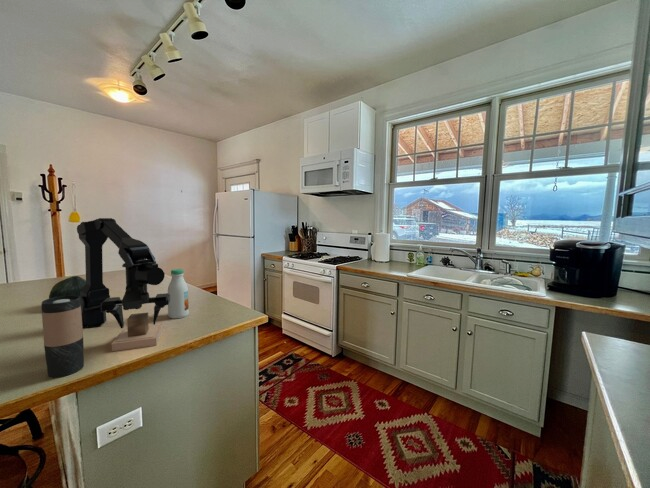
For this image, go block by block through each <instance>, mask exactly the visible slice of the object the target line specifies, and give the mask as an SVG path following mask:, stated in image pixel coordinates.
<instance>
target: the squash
mask: <svg viewBox="0 0 650 488" xmlns="http://www.w3.org/2000/svg"><path fill="white" fill-rule="evenodd" d="M85 284H86V278H83V277H81V276H79V275H74V276H70V277H67V278H65V279H63V280H60V281H59V282H57V283H55V284H54V285H53V286H52V288H51V290H50V292H49V295H48V299H50V298H54V297H60V296H79V297H80V291H81V290H82V288H83V287H84V286H85Z"/></svg>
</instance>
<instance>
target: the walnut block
mask: <svg viewBox="0 0 650 488" xmlns="http://www.w3.org/2000/svg"><path fill="white" fill-rule="evenodd" d="M126 325H127V328H128V337H132V336H140V335H146V334H147V332H148V330H149V326H150V324H149V312H141V313H131V314H130V315H129V316H128V317H127V319H126Z"/></svg>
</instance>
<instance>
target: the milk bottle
mask: <svg viewBox="0 0 650 488" xmlns="http://www.w3.org/2000/svg"><path fill="white" fill-rule="evenodd" d="M170 275H171V279H170V282H169V284H168V286H167V293H168V294H170V302H169V304H168V305H167V316H168V317H169V318H170V319H181V318H185V317H187V316H189V313H190V312H189V311H190V308H189V288H188V284H187V282H186V280H185V279H184V269H182V268H174V269H171V270H170Z"/></svg>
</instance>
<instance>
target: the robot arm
mask: <svg viewBox="0 0 650 488" xmlns="http://www.w3.org/2000/svg"><path fill="white" fill-rule="evenodd" d="M76 233H77V234H78V238H79V240H80V242H82V244H83V245H84V252H85V253H84V254H85V255H84V256H85V261H84V262H85V280H86V284H85V286H84V287H83V288H82V290H81V291H80V302H81V315H82V327H83V329H85V328H86V329H88V328H96V327H101V326H103V325H104V323H106V322H107V314H111V315H113V316H112V317H114V318H115V320H116V321H117V324H118V325H119V327H120V329H124V324H125V323H124V322H125V321H124V313H123V312H124V311H129V310H139V309H141V308H142V307H143V305H145V304H154V307H153V320H152V322H153V325H156V323H157V319H158V318H159V314H160V312H161V309H163V308H165V307H166V306H168V304H169V302H170V294H168V292H167V293H157V294H156V296H153V297H150V294H149V292H148V285H150V286H151V285H152V286H158V285H160V284H161V283H162V282H163V281H164V279H165V272H164V270H163V269H162V268H160V267H159V264H158V263H157V261H156V257H155V255H154V254H153V253H152V251H151V249H150V248H149V245H148V244H146V243H145V242H143V241H141V240H140V239H139V240H138V239H136V238H133V237H131V236H130V234H129V233H127V232H126V231H125V230H124V229H123V228H122V227H121V226H120V225H119V224H118V223H117V221H116V219H114V218H111V217H110V218H109V217H105V218H104V217H103V218H102V217H98V218H96V219H93V220H89V221H82V222H80V224H78V225H77V226H76ZM108 239H109V240H110V241H111V242H112V243H113V244H114V245H115V246H116V247H117V249H118V251H117V253H118V255H119V257H120V259H122V261H123V262H124V263H122V265H121V266H122V268H125V283H126V284H125V292H124V294H123V297H122V298H121V297H120V296H116V297H115V296H114V297H112V296H111V295H110V288H108V287H107V286H106V285H105V283H104V282H103V281H104V278H103V277H104V276H103V275H104V272H103V268H104V266H103V245H104V244H105V243H106V242H107V240H108ZM123 310H124V311H123Z"/></svg>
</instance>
